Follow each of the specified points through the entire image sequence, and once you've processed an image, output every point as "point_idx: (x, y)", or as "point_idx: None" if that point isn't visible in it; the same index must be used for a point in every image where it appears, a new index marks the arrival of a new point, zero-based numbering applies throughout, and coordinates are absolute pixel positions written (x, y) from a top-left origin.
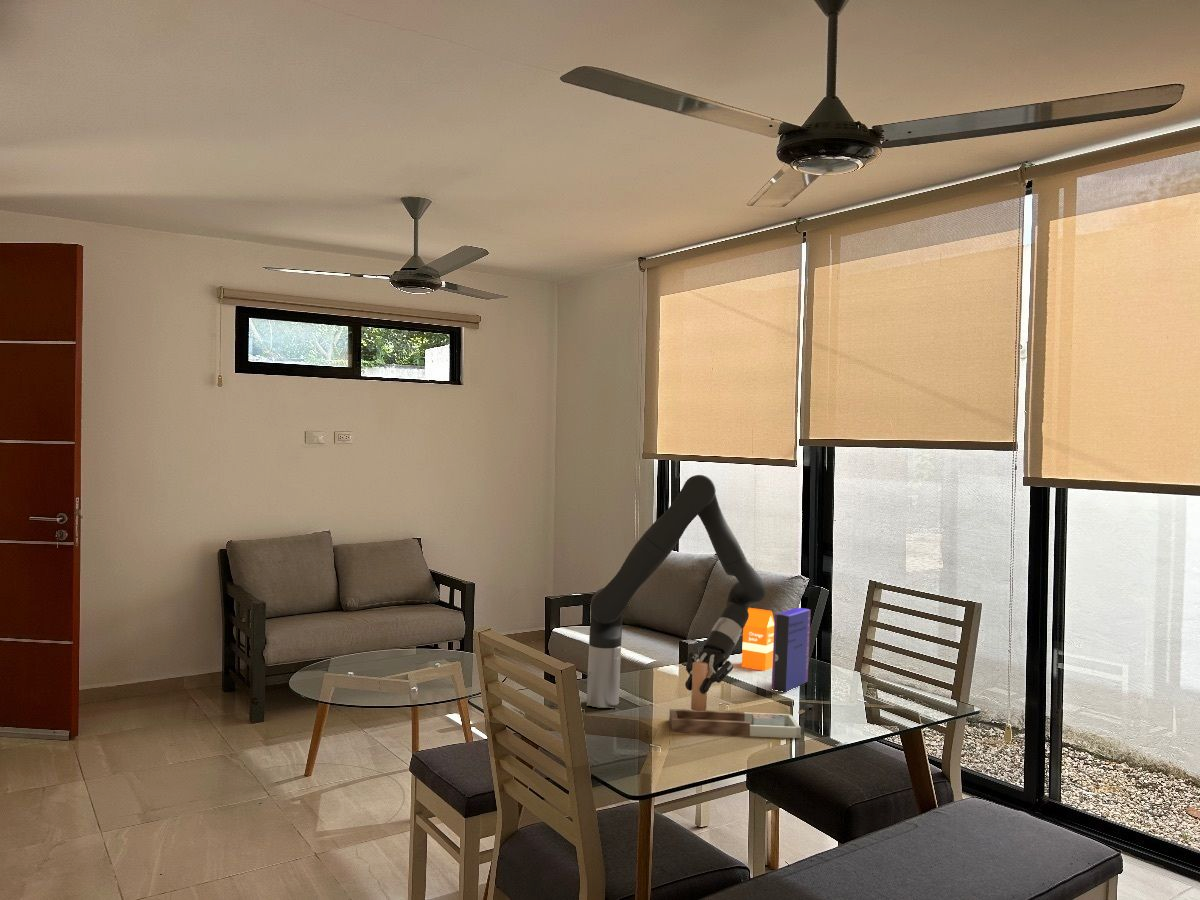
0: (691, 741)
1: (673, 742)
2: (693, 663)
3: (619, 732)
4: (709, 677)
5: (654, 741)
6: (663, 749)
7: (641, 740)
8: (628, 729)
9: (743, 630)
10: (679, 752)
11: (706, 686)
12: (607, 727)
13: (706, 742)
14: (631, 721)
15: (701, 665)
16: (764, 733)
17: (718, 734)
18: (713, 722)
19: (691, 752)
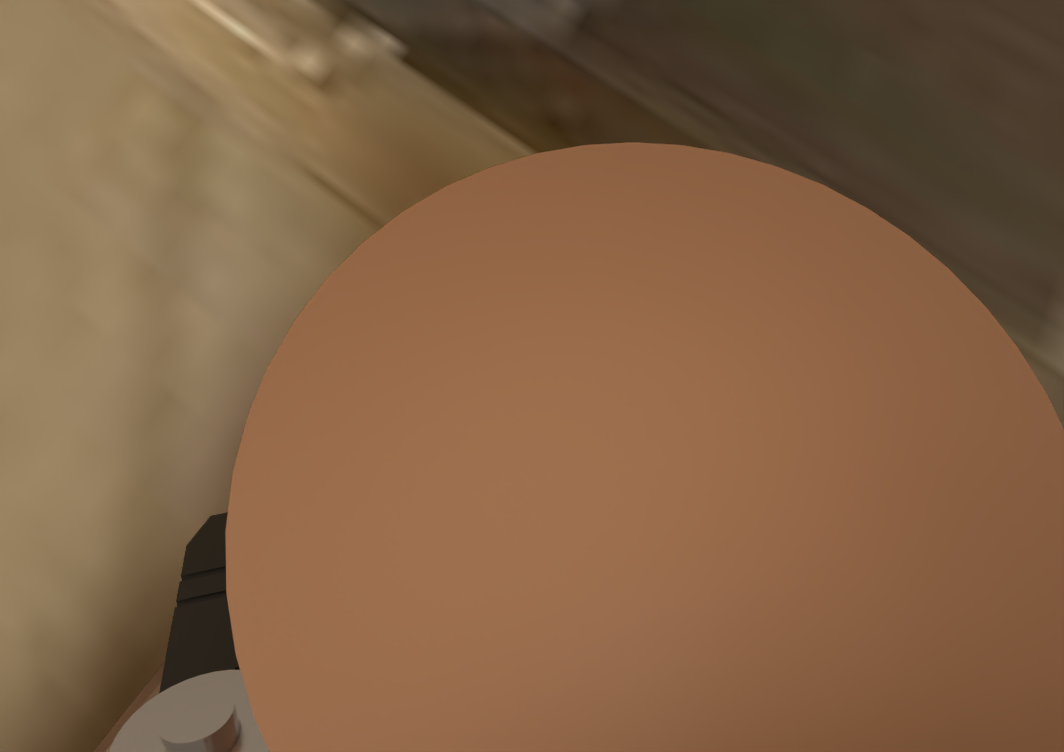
0: (237, 386)
1: (314, 221)
2: (800, 206)
3: (760, 15)
4: (147, 708)
5: (427, 104)
6: (218, 44)
7: (503, 36)
8: (805, 115)
9: None
10: (74, 102)
11: (182, 572)
12: (912, 12)
13: (118, 504)
14: (1011, 268)
15: (312, 307)
16: None
17: (115, 729)
18: (155, 691)
19: (2, 185)
